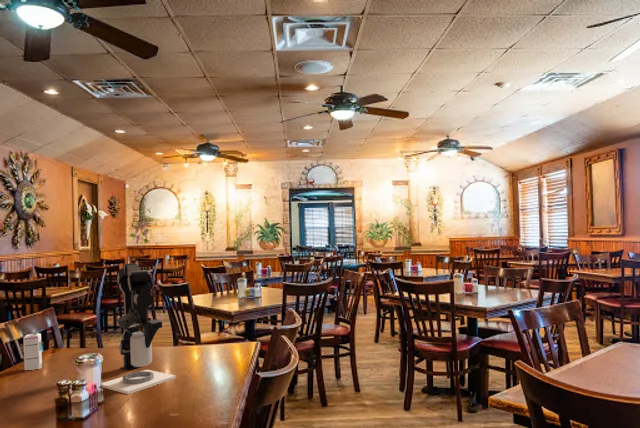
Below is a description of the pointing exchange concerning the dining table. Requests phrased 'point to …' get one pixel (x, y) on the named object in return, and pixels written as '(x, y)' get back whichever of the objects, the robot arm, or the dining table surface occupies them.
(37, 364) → the syrup box
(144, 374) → the platter
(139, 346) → the can
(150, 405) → the dining table surface
